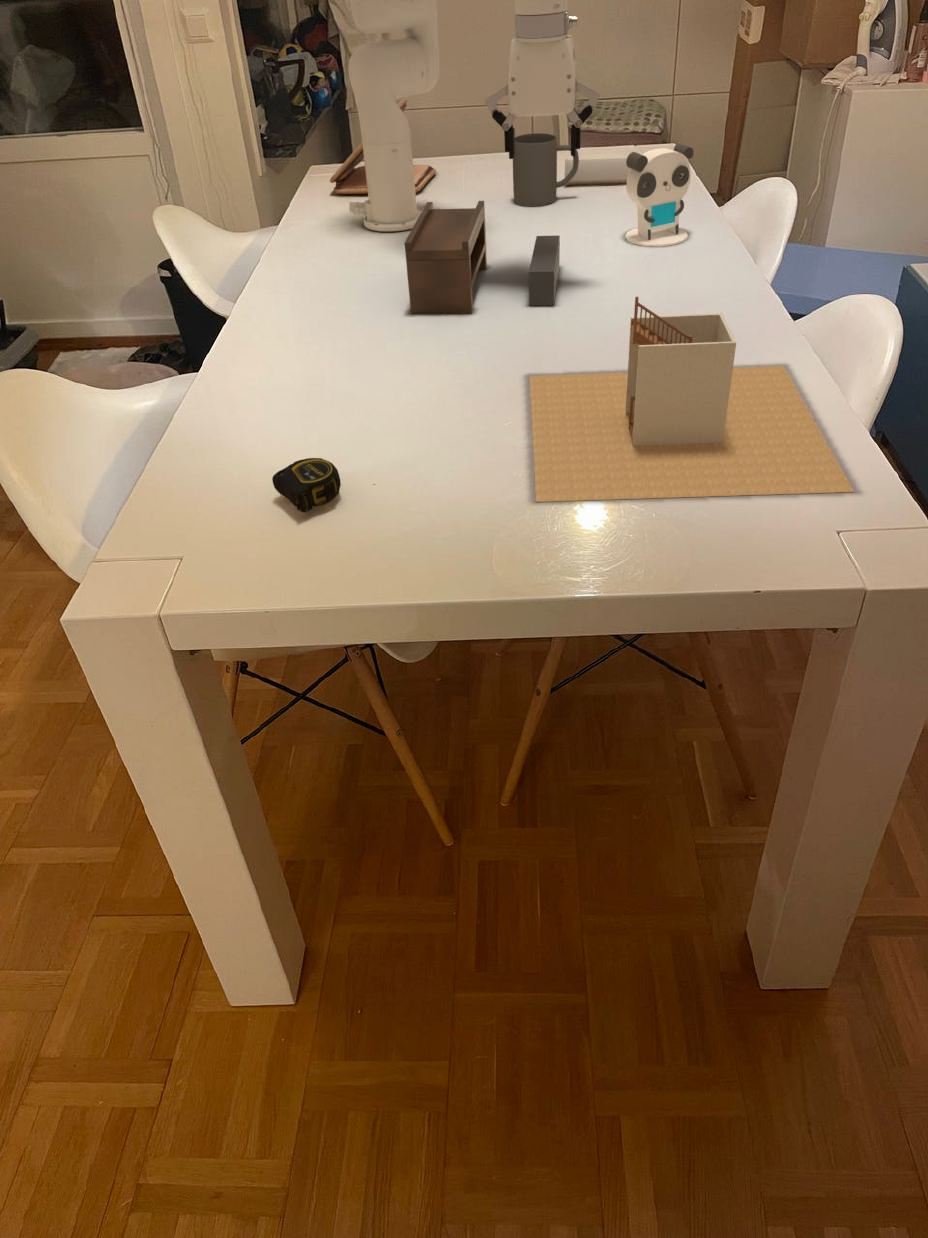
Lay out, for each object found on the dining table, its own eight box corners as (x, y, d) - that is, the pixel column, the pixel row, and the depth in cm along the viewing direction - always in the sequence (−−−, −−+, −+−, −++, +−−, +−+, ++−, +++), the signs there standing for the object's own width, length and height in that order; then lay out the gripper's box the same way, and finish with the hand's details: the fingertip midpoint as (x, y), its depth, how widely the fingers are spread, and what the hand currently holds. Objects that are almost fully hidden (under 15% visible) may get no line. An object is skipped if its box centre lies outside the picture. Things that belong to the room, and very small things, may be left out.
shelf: (411, 313, 150) (404, 242, 143) (432, 267, 166) (426, 201, 159) (472, 313, 148) (468, 241, 141) (487, 266, 165) (484, 200, 158)
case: (354, 172, 222) (345, 97, 212) (439, 171, 218) (433, 95, 208) (328, 196, 207) (316, 116, 197) (418, 196, 203) (411, 115, 193)
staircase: (624, 412, 119) (631, 283, 108) (710, 409, 118) (726, 279, 108) (631, 445, 112) (640, 311, 102) (722, 442, 111) (741, 307, 101)
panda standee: (642, 250, 167) (647, 160, 157) (611, 234, 175) (615, 147, 165) (699, 239, 170) (708, 150, 160) (666, 223, 178) (673, 138, 169)
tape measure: (273, 496, 108) (267, 468, 105) (325, 477, 111) (320, 449, 108) (299, 521, 103) (293, 493, 101) (353, 500, 106) (348, 472, 104)
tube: (680, 156, 201) (565, 159, 203) (683, 154, 196) (565, 157, 198) (678, 183, 203) (564, 186, 205) (681, 181, 198) (564, 184, 200)
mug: (513, 207, 192) (512, 144, 184) (513, 195, 199) (511, 134, 192) (579, 204, 191) (580, 140, 184) (576, 192, 198) (577, 130, 191)
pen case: (528, 305, 149) (528, 271, 146) (536, 267, 163) (536, 235, 160) (554, 305, 149) (554, 271, 145) (559, 267, 162) (560, 235, 159)
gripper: (601, 20, 136) (598, 147, 146) (485, 27, 138) (490, 152, 149) (601, 27, 130) (597, 159, 141) (479, 34, 132) (485, 163, 143)
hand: (542, 155), depth 145 cm, fingers open, 9 cm apart
